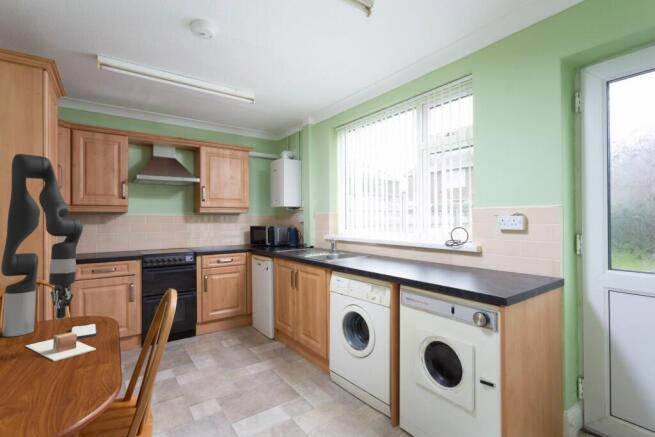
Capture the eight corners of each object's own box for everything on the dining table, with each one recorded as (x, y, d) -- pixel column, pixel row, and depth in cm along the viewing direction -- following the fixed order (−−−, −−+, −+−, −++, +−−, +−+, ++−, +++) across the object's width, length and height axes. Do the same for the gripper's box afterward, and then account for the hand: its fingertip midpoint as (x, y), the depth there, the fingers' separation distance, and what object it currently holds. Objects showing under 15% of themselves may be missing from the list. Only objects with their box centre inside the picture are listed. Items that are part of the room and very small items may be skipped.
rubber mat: (25, 346, 115) (25, 345, 115) (65, 337, 126) (65, 336, 126) (54, 361, 103) (54, 360, 103) (95, 349, 113) (95, 348, 113)
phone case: (97, 337, 128) (96, 326, 141) (97, 333, 128) (96, 323, 141) (69, 341, 123) (71, 330, 135) (69, 337, 123) (71, 326, 135)
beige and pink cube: (53, 335, 112) (59, 338, 109) (70, 331, 116) (76, 334, 114) (53, 349, 112) (59, 352, 109) (70, 345, 116) (76, 348, 113)
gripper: (42, 270, 116) (40, 317, 115) (57, 273, 109) (55, 323, 109) (67, 268, 122) (65, 313, 122) (83, 271, 116) (80, 318, 115)
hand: (60, 317), depth 115 cm, fingers closed
